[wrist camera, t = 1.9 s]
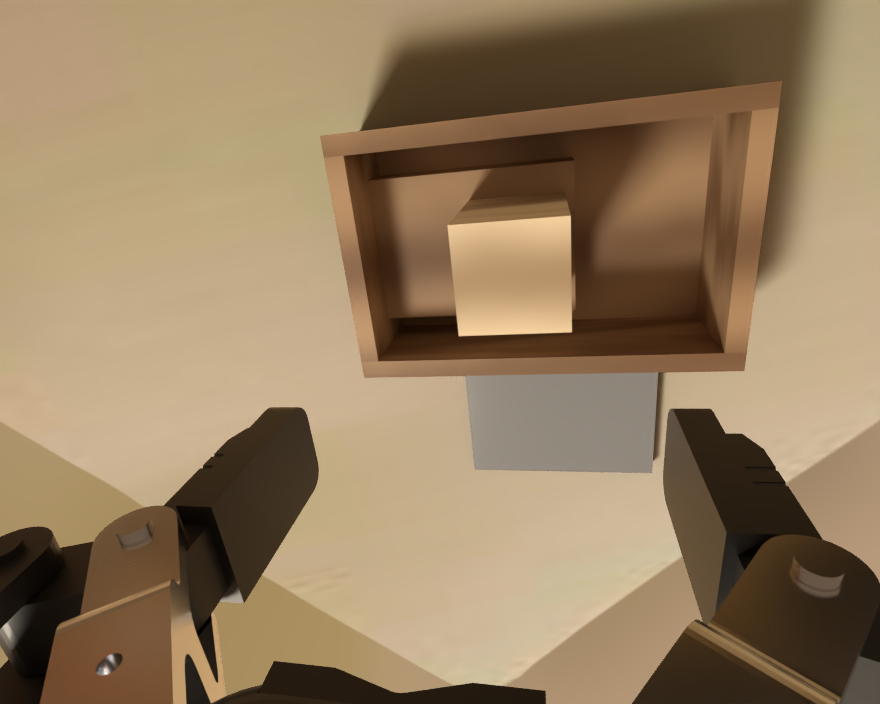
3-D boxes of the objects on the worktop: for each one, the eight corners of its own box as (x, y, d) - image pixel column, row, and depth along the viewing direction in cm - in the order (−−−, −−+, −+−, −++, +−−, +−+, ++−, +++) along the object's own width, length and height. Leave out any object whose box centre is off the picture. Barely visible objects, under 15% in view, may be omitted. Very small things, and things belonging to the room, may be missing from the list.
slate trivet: (465, 349, 35) (463, 355, 34) (656, 343, 33) (659, 350, 32) (476, 461, 39) (474, 469, 38) (649, 464, 36) (652, 473, 35)
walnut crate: (359, 132, 31) (320, 135, 25) (734, 87, 27) (782, 80, 21) (391, 338, 36) (364, 377, 30) (710, 327, 32) (743, 371, 26)
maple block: (469, 200, 28) (447, 225, 22) (564, 192, 27) (570, 215, 21) (476, 289, 30) (458, 336, 24) (565, 285, 29) (571, 332, 23)
